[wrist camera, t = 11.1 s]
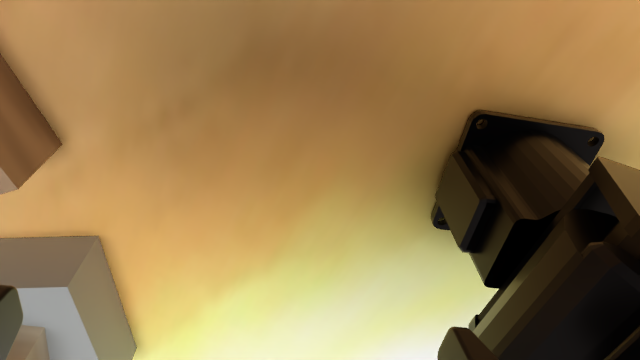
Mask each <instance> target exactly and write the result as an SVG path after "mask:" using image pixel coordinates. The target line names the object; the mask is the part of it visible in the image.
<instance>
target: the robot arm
mask: <svg viewBox="0 0 640 360" xmlns="http://www.w3.org/2000/svg"><path fill="white" fill-rule="evenodd" d="M481 119H484V122H483V124H481V125H479V126H476V123H477V122H478V121H479V120H481ZM592 137H594V138H593V140H592V141H590V142H588V140H589V139H590V138H592ZM603 142H604V135H603V134H602V133H601V132H600V131H598V130H597V129H594V128H589V127H583V126H577V125H571V124H564V123H558V122H552V121H546V120H539V119H533V118H527V117H521V116H514V115H508V114H502V113H496V112H489V111H483V110H482V111H476V112H474V113H473V114H472V115H471V116H470V117H469V119H468V122H467V124H466V127H465V129H464V132H463V135H462V137H461V140H460V142H459V145H458V148H457V150H456V151H455V152H454V153H452V154H451V155H450V158H449V161H448V163H447V166H446V169H445V171H444V174H443V177H442V179H441V182H440V184H439V187H438V190H437V192H436V195H435V198H436V200H437V202H436V205H435V207H434V210H433V213H432V215H431V220H432V223H433V225H434V227H436V228H438V229H443V230H451V232H452V234H453V236H454V239H455V241H456V243H457V245H458V247H459V248H460V250H461V251H462V252H465V253H469V254H470V256H471V258H472V260H473V262H474V264H475V266H476V269H477V271H478V273H479V275H480V277H481V279H482V281H483V283H484V285H485V286H486V287H489V288H499V290H498V291H497V292H496V294H495V295H494V296H493V298H492V299H491V300H490V302H489V303H488V304H487V305H486V307H485V308H484V309H483V311H482V312H481V313H480V314H479V315H475V317H474V318H473V319H472V320H471V322H470V323H469V329H468V328H462V327H451V328H450V329H449V330H448V332H447V334H446V336H445V338H444V340H443V342H442V344H441V346H440V348H439V351H438V360H640V170H637V169H634V168H632V167H629V166H626V165H623V164H620V163H617V162H614V161H611V160H608V159H605V158H602V157H597V158H596V160H595V161H594V162H593V164H592V165H591V163H592V161H593V160H594V158H595V156H596V154H597V153H598V151H599V149H600V147H601V146H602V144H603ZM590 165H591V166H590ZM443 217H445V218H444V219H443V220H441V221H438V220H439V219H440V218H443ZM22 322H23V311H22V307H21V303H20V299H19V295H18V291H17V289H16V288H15V287H14V286H11V285H1V284H0V360H6V359H7V356H8V354H9V352H10V350H11V348H12V345H13V343H14V341H15V339H16V336H17V334H18V332H19V330H20V328H21V325H22Z"/></svg>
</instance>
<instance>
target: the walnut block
mask: <svg viewBox="0 0 640 360" xmlns="http://www.w3.org/2000/svg"><path fill="white" fill-rule="evenodd" d="M61 145H62V143H61V142H60V140H59V139H58V137H57V136H56V134H55V133H54V131H53V130H52V129H51V127H50V126H49V124H48V123H47V121H46V120H45V118H44V117H43V115H42V114H41V112H40V111H39V110H38V108H37V107H36V105H35V104H34V102H33V101H32V99H31V98H30V96H29V95H28V93H27V92H26V91H25V89H24V88H23V86H22V85H21V83H20V82H19V80H18V79H17V77H16V76H15V74H14V73H13V72H12V70H11V69H10V67H9V66H8V64H7V63H6V61H5V60H4V58H3V57H2V55H1V54H0V194H3V193H7V192H10V191H14V190H17V189H19V188H20V187H21V186H22V185H23V184H24V183H25V182H26V181H27V180H28V179H29V178H30V177H31V176H32V175H33V174H34V173H35V172H36V171H37V170H38V169H39V168H40V167H41V165H42V164H43V163H44V162H45V161H46V160H47V159H48V158H49V157H50V156H51V155H52V154H53V153H54V152H55V151H56V150H57V149H58V148H59V147H60V146H61Z"/></svg>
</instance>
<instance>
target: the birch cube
mask: <svg viewBox="0 0 640 360" xmlns="http://www.w3.org/2000/svg"><path fill="white" fill-rule="evenodd" d="M6 360H50V358H49V352H48V346H47V339H46V333H45V327H36V326H26V325H21V328H20V330H19V332H18V334H17V336H16V339H15V341H14V343H13V345H12V348H11V350H10V352H9V354H8V356H7V359H6Z"/></svg>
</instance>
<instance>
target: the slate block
mask: <svg viewBox="0 0 640 360" xmlns="http://www.w3.org/2000/svg"><path fill="white" fill-rule="evenodd" d="M0 284H1V285H11V286H14V287H15V288H16V289H17V291H18V295H19V299H20V303H21V307H22V311H23V322H22V325H26V326H36V327H45V333H46V339H47V346H48V352H49V358H50V360H132V359H133V356H134V353H135V351H136V348H137V347H136V344H135V341H134V338H133V335H132V332H131V329H130V327H129V324H128V321H127V318H126V315H125V312H124V309H123V306H122V303H121V300H120V297H119V294H118V292H117V289H116V286H115V283H114V280H113V277H112V274H111V271H110V268H109V265H108V262H107V259H106V257H105V254H104V251H103V248H102V245H101V242H100V239H99V236H70V237H31V238H0Z"/></svg>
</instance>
